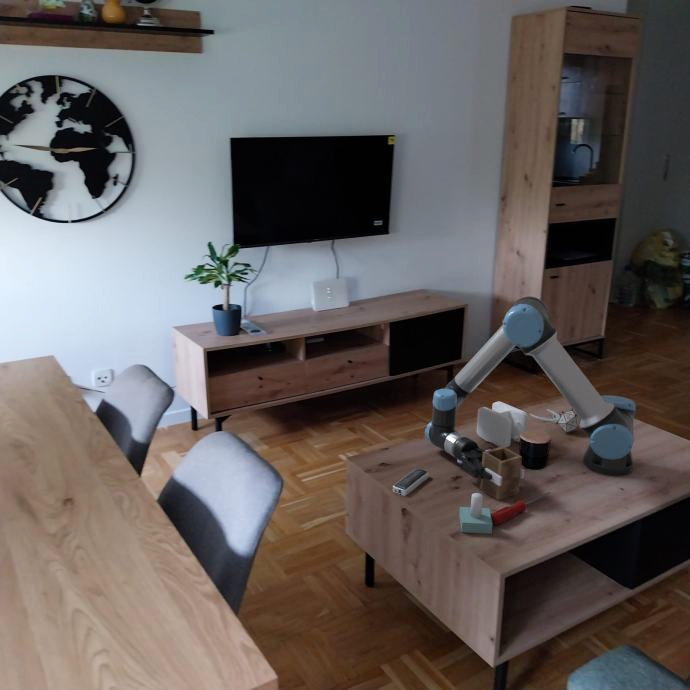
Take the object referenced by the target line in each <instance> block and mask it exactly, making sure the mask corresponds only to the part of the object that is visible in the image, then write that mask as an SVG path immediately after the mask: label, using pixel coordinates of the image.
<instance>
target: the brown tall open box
mask: <svg viewBox="0 0 690 690" xmlns="http://www.w3.org/2000/svg"><path fill="white" fill-rule="evenodd" d="M522 460H523V456H521V455H519V454H517V452H514V451H513V450H510V449H509V448H508V447H507V448H505V447H496V448H493V449H492V450H489V451H485V452H483V456H482V462H481V465H482V466H483V468H484V470H485V468H488V469H489V470H491V471H493V472H494V473H496V474H498V475H499V476H501V477H502V485H501V486H498V485H497V484H495V483H494V482H492V481H490V480H488V479H486V478H484V477H483V479H480V484H479V489H480V490H482V491H483V492H485V493H486V492H487V494H488V495H489V496H491V497H493V498H494V499H496V500H498V501H500V500H503V499H506V498H509V497H512V496H514V495H517V494H519V493H520V484H521V478H520V473H521V468H522V462H523V461H522Z"/></svg>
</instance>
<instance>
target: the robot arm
mask: <svg viewBox="0 0 690 690" xmlns="http://www.w3.org/2000/svg"><path fill="white" fill-rule="evenodd" d="M557 335H558V330H557V329H556V328H555V326H554V325H553V324H552V323H551V321H550V320H549V309H548V307H547V304H546V303H544V301H543V300H541V299H540V298H538V297H535V296H530V295H529V296H524V297H521V298H519V299H517V300H516V301H515V302H514V303H513V305H512V306H511V307H510V309H509V310H508V311H507V312H506V314H505V315H504V319H502V325H501V326H500V327H499V328H498V329H497V330H496V332H495V333H494V334H492V336H491V337H490V338H489V339H488V341H486V342H485V343H484V345H483V346H482V347H481V348H480V349H479V350H478V351H477V353H475V354H474V356H473V357H472V358H471V359H470V360H469V361H468V362H467V363H466V364H465V366H464V367H463V368H462V369H460V371H459V372H457V374H456V375H455V377H454V378H452V379H451V380H450V382H448V383H447V384H446V386H445V387H444V388H440V389H437V390H435V391H434V392H433V397H432V398H433V399H432V420H431V421H429V423H428V424H427V425H426V428H425V429H424V436H425V438H426V439H427V441H428V442H430V443H431V444H432V445H433V446H435V447H437V448H439V449H441V450H442V451H444V452H446V453H447V454H449V455H450V456H452V457H454V458H455V459H457V460H456V461H457V462H456V464H457V465H458V466H460V467H462V468H463V469H465V471H467V472H468V473H469V474H470V475H471V476H472V477H474V478H478V477H479V478H478V479H480V480H481V479H483V477H484V478H486V479H488V480H490V481H492V482H494V483H495V484H497V485H498V486H501V485H502V477H501V476H499V475H498V474H496V473H494V472H493V471H491V470H489V469H488V468H485V470H484V468H483V466H482V456H483V452H485V451H489V450H492V449H494V448H493V447H491V446H490V447H489V446H488V449H484V448H480V447H479V445H478V443H477V442H475V440H473V439H471V438H469V437H468V436H466V435H464V434H462V433H461V432H458V431H457V430H456V429H455V428H456V416H457V411H458V410H459V408H460V407H461V405H462V403H463V402H464V401H465V400H466V399H467V398H469V396H470V395H471V393H473V391H474V390H475V389H476V388H477V387H478V386H479V385H480V384H481V383H482V382H483V381H484V380H485V378H487V377H488V376H489V374H491V372H492V371H494V370H495V368H496V367H497V366H498V365H499V364H500V363H501V362H502V361H503V360H504V359H505V358H506V357H507V356H508V355H509V353H511V351H512V350H514V348H515V347H518V348H519V349H520V351H521V352H523V355H525V356H531V357H533V359H534V360H535V361H536V363H537V364H538V365H539V366H540V368H541V369H542V371H544V373H545V374H546V375H547V377H548V378H549V379H550V381H551V382H552V383H553V384H554V385H553V386H555V387H556V388H557V389H558V392H560V394H561V395H562V397H564V399H565V400H566V402H567V403H568V404H569V405H570V407H571V409H572V408H573V412H574V413H575V414H577V416H578V417H579V418H580V419H581V421H580V424H579V426H580V427H579V428H580V429H582V432H584V433H585V435H586V436H587V437H588V439H589V443H588V445H587V447H586V450H585V451H584V454H583V457H582V464H583V465H584V466H585V467H586V468H587V469H589V470H590V471H592V472H595V473H596V474H600V475H605V476H611V477H612V476H613V477H621V476H622V477H624V476H626V475H630V473H632V472H633V470H634V469H633V468H634V459H633V454H632V448H633V445H634V443H635V438H634V421H635V414H636V411H637V410H636V408H637V406H636V403H635V401H633V400H632V399H629V398H627V397H624V396H618V395H600V393H599V392H598V391H597V390H596V388H595V387H594V386H593V384H592V383H591V382H590V380H589V379H588V377H586V375H585V374H584V373H583V371H582V370H581V369H580V367H579V366H578V365H577V363H575V361H574V360H573V359H572V357H571V356H570V354H569V353H568V352H567V350H566V349H565V348H564V347H563V346H562V344H561V342H560V341H558V339H557ZM524 478H525V469H524V468H522V467H521V473H520V480H521V479H522V480H523V479H524Z"/></svg>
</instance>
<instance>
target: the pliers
mask: <svg viewBox="0 0 690 690" xmlns="http://www.w3.org/2000/svg"><path fill="white" fill-rule="evenodd" d="M546 411H548V412H550V413H551V414H552V417H548V416H542V417H540V416H539V415H538V416H537V415H536V414H532V413H529V416H531V417H532V418H535V419H537V420H542V421H546V422H551V423H552V422H553V423H558V421H559V418H560V415H559V414H558V413H557V412H555V411H554V410H552V409H549V408H547V409H546Z"/></svg>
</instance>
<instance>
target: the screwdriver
mask: <svg viewBox="0 0 690 690" xmlns="http://www.w3.org/2000/svg"><path fill="white" fill-rule="evenodd" d="M551 494H552V492H551V491H547V492H546V493H544V494H541V495H540V496H538V497H536V498H533V499H531V500H529V501H528V502H527V501H526V502H524V501H523V500H517V502H516V503H515V504H512V505H509V506H505V507H502V508H500V509H499V510H495V511H493V512H490V515H491V520H492V525H495V526H498V525H500V524H502V523H504V522H506V521H508V520H510V519H511V518H513V517H514V516H515V515H516V514H518V513H524V512H525V511H526V510H527V505H529V504H531V503H533V502H535V501H537V500H539V499H541V498H543V497H545V496H549V495H551Z"/></svg>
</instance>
